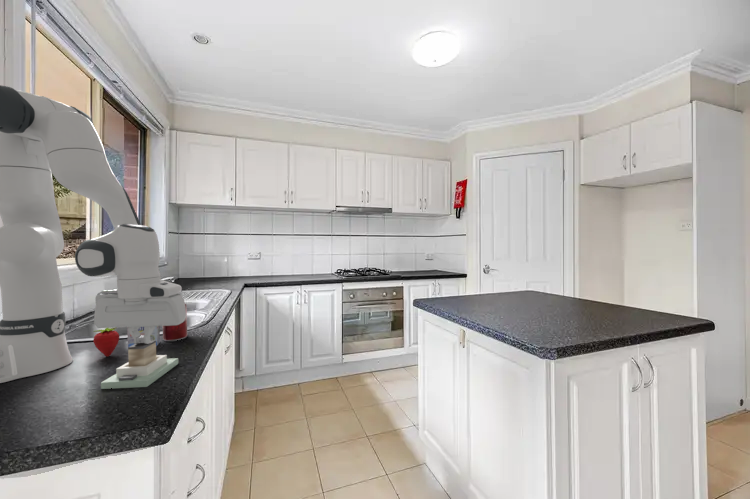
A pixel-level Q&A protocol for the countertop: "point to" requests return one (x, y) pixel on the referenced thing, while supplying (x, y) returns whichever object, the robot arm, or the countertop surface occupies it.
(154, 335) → the medicine box
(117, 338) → the strawberry
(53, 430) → the countertop surface
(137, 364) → the plug
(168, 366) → the socket board
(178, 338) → the soda can
